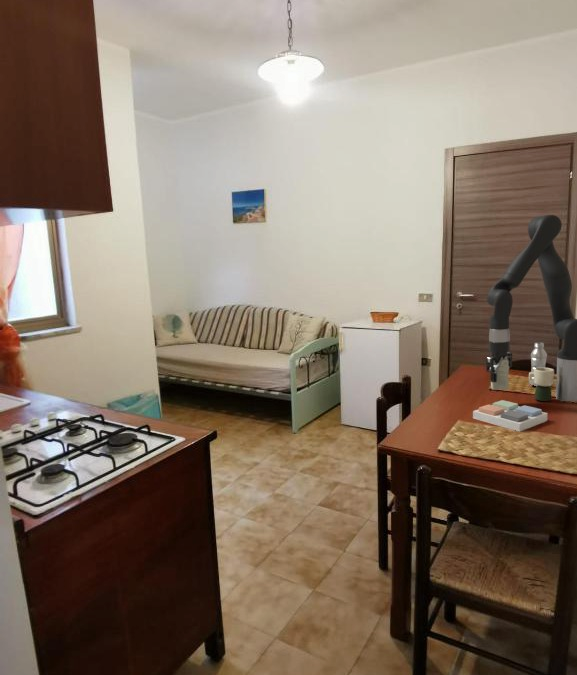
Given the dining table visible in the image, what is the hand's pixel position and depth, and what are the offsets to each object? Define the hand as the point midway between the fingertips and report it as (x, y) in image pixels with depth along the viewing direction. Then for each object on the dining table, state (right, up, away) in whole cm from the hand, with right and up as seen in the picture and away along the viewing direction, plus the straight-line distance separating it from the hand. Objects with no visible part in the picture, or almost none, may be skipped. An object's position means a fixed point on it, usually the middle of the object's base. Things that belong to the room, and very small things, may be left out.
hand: (499, 380), depth 192 cm
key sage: (-3, -9, -12) cm, 16 cm away
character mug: (+19, -9, +3) cm, 21 cm away
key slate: (+2, -10, -19) cm, 22 cm away
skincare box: (0, -4, +1) cm, 4 cm away
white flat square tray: (-4, -13, -18) cm, 22 cm away
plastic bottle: (+27, -5, +22) cm, 35 cm away
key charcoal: (-5, -11, -24) cm, 27 cm away
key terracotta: (-10, -10, -16) cm, 22 cm away
